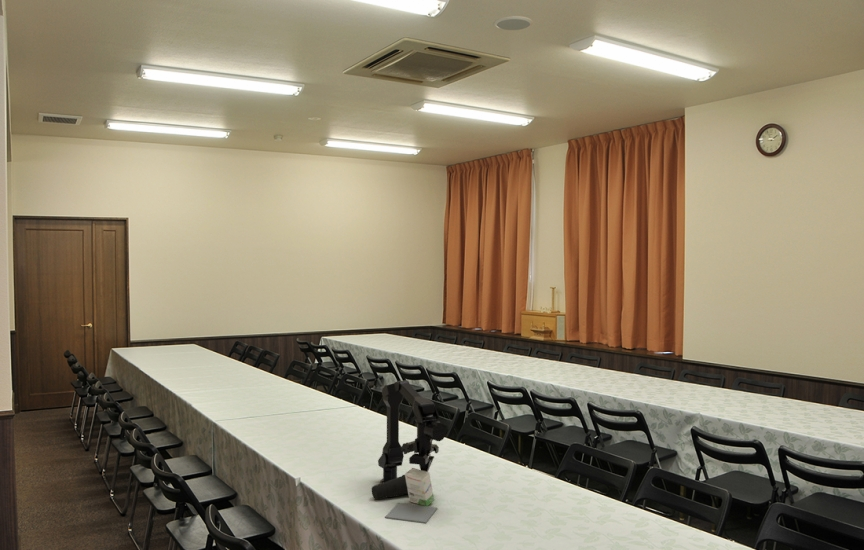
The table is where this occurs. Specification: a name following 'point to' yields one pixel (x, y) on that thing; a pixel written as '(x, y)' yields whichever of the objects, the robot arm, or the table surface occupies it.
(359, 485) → the table surface
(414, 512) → the felt mat
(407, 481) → the ink box
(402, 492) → the drinking cup
